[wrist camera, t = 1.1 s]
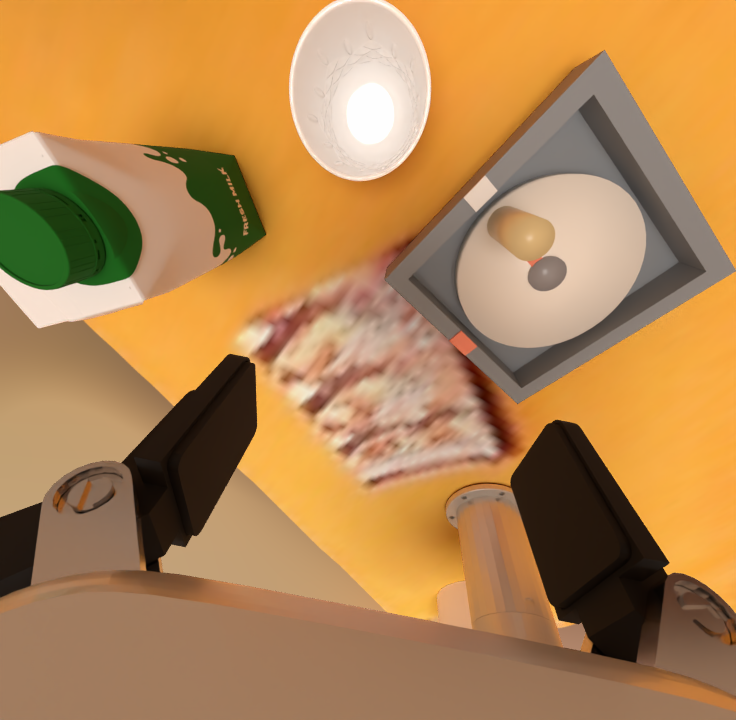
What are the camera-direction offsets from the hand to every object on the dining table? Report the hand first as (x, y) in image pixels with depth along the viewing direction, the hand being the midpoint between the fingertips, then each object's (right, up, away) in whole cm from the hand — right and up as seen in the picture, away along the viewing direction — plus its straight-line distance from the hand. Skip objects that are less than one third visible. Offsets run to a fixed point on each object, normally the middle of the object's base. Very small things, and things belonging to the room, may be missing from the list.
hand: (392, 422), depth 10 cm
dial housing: (+15, +11, +20) cm, 28 cm away
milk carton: (-15, +17, +21) cm, 31 cm away
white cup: (0, +22, +16) cm, 27 cm away
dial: (+15, +11, +19) cm, 26 cm away
